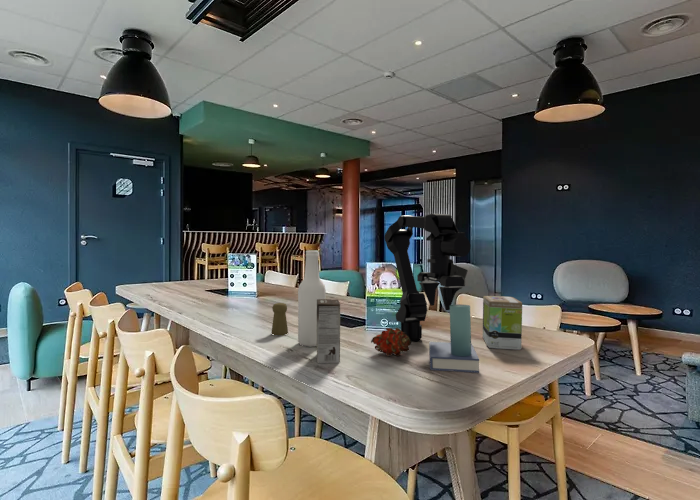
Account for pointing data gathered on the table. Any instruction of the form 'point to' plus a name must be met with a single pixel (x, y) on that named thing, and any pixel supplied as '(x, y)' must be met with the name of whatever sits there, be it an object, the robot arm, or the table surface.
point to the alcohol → (309, 300)
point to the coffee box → (328, 331)
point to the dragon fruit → (392, 342)
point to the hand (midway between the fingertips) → (439, 307)
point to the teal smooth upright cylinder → (460, 330)
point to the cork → (279, 319)
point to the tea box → (502, 322)
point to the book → (451, 359)
